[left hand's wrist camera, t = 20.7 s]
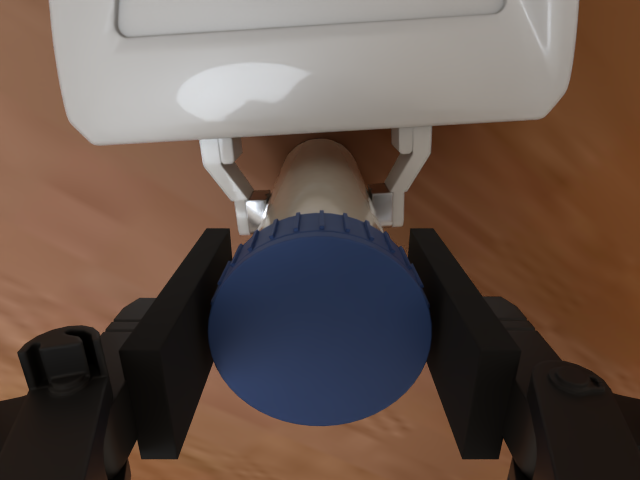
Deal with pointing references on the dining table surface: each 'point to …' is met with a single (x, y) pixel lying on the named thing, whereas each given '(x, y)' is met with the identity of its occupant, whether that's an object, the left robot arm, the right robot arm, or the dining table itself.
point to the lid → (319, 320)
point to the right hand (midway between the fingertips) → (321, 227)
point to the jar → (320, 185)
